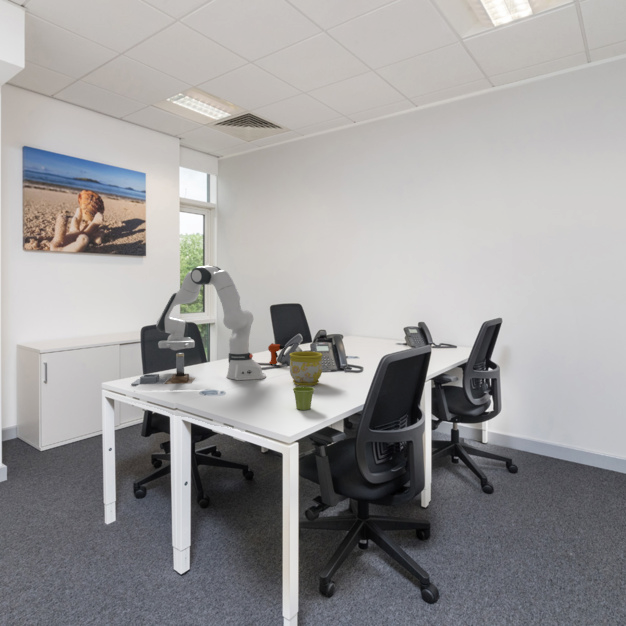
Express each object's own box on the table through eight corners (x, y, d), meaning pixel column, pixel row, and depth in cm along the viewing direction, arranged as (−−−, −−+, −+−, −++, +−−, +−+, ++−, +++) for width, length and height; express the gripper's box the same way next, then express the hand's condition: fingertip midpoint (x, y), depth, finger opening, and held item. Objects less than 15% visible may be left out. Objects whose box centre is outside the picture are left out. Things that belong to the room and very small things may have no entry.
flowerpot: (322, 380, 244) (322, 351, 243) (322, 387, 226) (322, 356, 225) (290, 379, 245) (290, 351, 244) (288, 387, 227) (288, 356, 226)
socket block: (195, 379, 243) (195, 372, 243) (191, 385, 229) (191, 377, 229) (169, 379, 242) (169, 372, 241) (164, 385, 228) (164, 378, 227)
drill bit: (184, 379, 238) (184, 352, 237) (183, 381, 234) (183, 353, 233) (177, 379, 237) (176, 352, 236) (175, 381, 233) (175, 354, 232)
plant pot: (290, 406, 191) (291, 386, 190) (311, 405, 193) (311, 385, 192) (294, 412, 182) (294, 391, 181) (316, 410, 184) (316, 390, 183)
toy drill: (290, 365, 281) (287, 342, 281) (267, 366, 291) (265, 344, 291) (294, 364, 285) (292, 341, 285) (272, 365, 295) (270, 343, 295)
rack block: (167, 380, 240) (167, 373, 240) (162, 385, 229) (162, 377, 228) (137, 380, 238) (137, 373, 238) (131, 385, 227) (131, 378, 226)
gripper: (157, 337, 254) (158, 340, 242) (193, 337, 262) (195, 340, 249) (157, 348, 255) (158, 352, 242) (193, 347, 262) (195, 350, 250)
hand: (177, 346), depth 246 cm, fingers open, 8 cm apart
